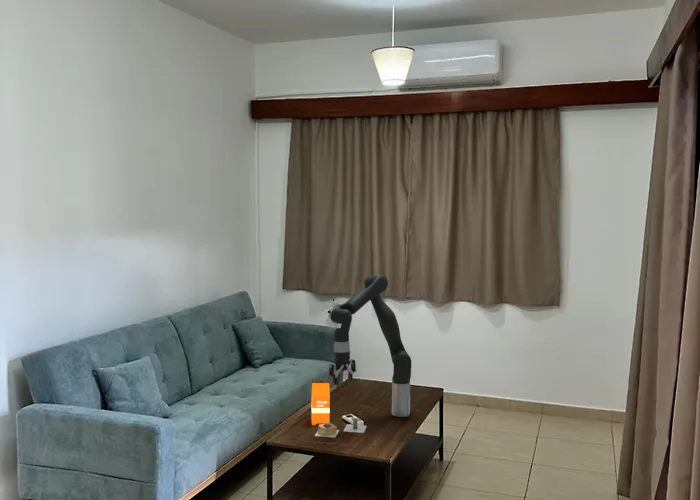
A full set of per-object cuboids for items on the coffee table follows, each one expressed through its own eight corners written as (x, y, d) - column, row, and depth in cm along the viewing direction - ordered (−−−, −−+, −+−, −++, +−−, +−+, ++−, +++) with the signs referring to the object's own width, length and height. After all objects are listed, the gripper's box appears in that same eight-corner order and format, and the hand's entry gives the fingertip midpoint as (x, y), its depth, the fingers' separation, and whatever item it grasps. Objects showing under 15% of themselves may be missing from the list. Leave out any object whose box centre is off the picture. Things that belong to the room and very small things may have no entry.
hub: (339, 431, 319) (339, 420, 318) (335, 439, 309) (335, 427, 309) (319, 430, 321) (319, 419, 320) (314, 437, 311) (314, 426, 310)
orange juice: (311, 419, 335) (311, 381, 334) (328, 419, 336) (329, 380, 335) (311, 425, 328) (312, 385, 326) (329, 424, 328) (330, 385, 327)
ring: (329, 429, 319) (329, 422, 319) (336, 433, 314) (336, 426, 314) (317, 432, 316) (318, 425, 315) (325, 436, 310) (325, 428, 310)
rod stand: (367, 427, 326) (367, 416, 325) (363, 434, 316) (363, 423, 315) (347, 425, 327) (347, 415, 327) (343, 432, 318) (343, 422, 317)
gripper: (349, 346, 326) (350, 378, 328) (325, 351, 318) (326, 384, 319) (358, 349, 320) (359, 381, 322) (334, 353, 312) (335, 387, 313)
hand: (342, 382), depth 320 cm, fingers open, 8 cm apart
